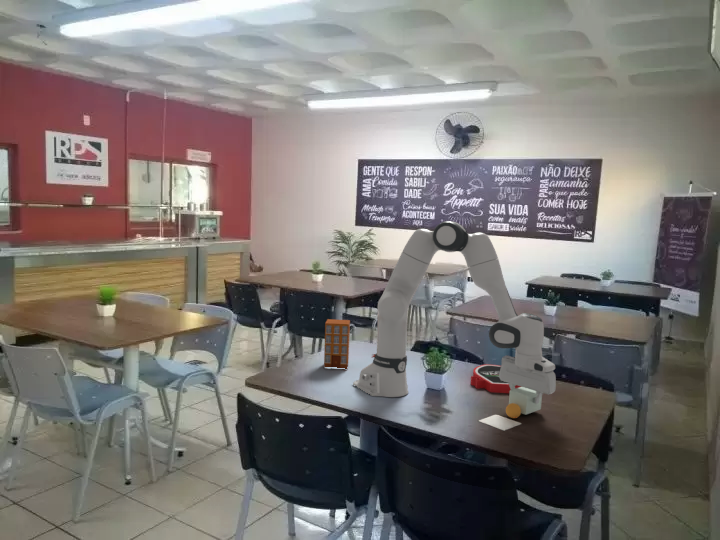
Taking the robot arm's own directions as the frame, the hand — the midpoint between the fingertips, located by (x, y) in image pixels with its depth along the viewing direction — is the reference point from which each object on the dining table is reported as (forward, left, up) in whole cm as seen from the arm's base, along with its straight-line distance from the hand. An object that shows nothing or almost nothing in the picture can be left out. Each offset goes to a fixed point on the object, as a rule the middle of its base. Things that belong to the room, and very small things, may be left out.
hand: (524, 399), depth 195 cm
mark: (0, -15, -5) cm, 16 cm away
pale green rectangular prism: (0, 0, -3) cm, 3 cm away
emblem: (-26, +25, -6) cm, 36 cm away
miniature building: (-81, -19, -5) cm, 83 cm away
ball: (0, -7, -2) cm, 8 cm away
